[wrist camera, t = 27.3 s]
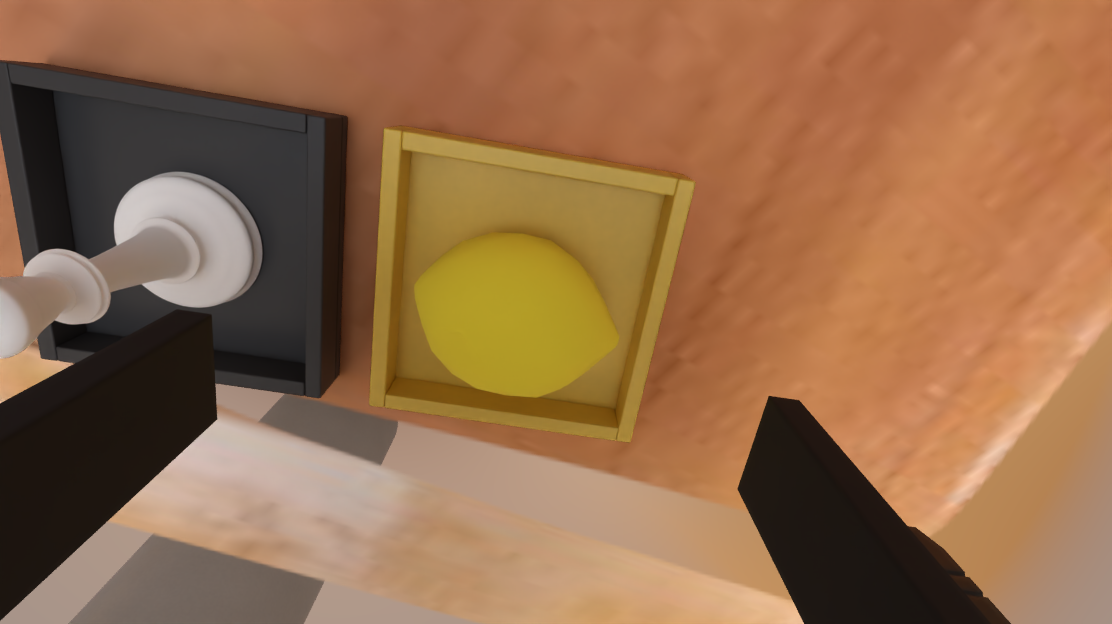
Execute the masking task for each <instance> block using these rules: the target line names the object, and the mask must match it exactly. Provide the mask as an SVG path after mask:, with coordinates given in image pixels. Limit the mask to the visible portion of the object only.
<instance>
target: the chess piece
mask: <svg viewBox="0 0 1112 624" xmlns="http://www.w3.org/2000/svg"><path fill="white" fill-rule="evenodd" d="M114 235H115V241H116V245H117V246H115V247H113V248H111V249H109V250H107V251H105V252H103V253H101V254H99V255H97V256H95V257H93V258H90V259H87V258H86V257H84V256H82V255H80V254H78V253H76V252H73V251H70V250H65V249H50V250H46V251H43V252H41V253H39V254H38V255H37V256H35V257H34V258H33V259H31V260H30V261H29V262H28V264H27V265H26V267H25V269H24V273H23V276H16V277H0V359H1V358H8V357H12V356H14V355H17V354H18V353H20V352H22V351H23V350H25V349H26V348H27V347H28V346H29V345H30V344H31V343H32V342H33V341H35V340H36V338H37V337H38V336H39V334H40V333H41V332H42V331H43V330H44V329H45V328H46V327H47V326H48V325H49V324H51V323H52V322H53V321H54V320H55V321H58V322H61V323H65V324H85V323H91V322H94V321H96V320H98V319H100V318H101V317H102V316H103V315H104V314H105V313H106V311H107V310H108V308H109V305H110V300H111V294H110V292H113V291H117V290H120V289H124V288H128V287H132V286H136V285H140V284H142V285H143V286H144V287H145V288H147V289H148V290H149V291H151V292H152V293H154V294H155V295H157V296H159V297H161V298H162V299H165V300H167V301H169V302H172V303H175V304H178V305H182V306H187V307H197V308H201V307H211V306H215V305H219V304H221V303H224V302H228V301H231V300H233V299H235V298H237V297H239V296H240V295H242V294H243V293H245V292H246V291H247V290H248V289H249V288H250V287H251V286H252V284H253V283H254V281H255V280H256V278H257V276H258V274H259V271H260V268H261V264H262V255H263V251H262V242H261V237H260V233H259V230H258V228H257V225H256V223H255V221H254V219H253V217H252V216H251V214H250V212H249V211H248V210H247V208H246V207H245V206H244V204H243V203H242V202H241V201H240V200H239V199H238V198H237V197H236V196H235V195H234V194H233V193H232V192H230V191H229V190H228V189H226V188H225V187H224V186H222V185H220V184H219V183H217V182H215V181H213V180H211V179H209V178H206V177H204V176H201V175H197V174H193V173H188V172H168V173H163V174H159V175H156V176H154V177H151V178H149V179H147V180H144V181H142V182H140V183H138V184H137V185H135V186H134V187H132V188H131V189H130V190H129V191H128V192H127V193H126V194H125V195H124V197H123V198H122V200H121V201H120V203H119V205H118V208H117V211H116V214H115V219H114Z"/></svg>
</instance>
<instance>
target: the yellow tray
mask: <svg viewBox="0 0 1112 624" xmlns="http://www.w3.org/2000/svg"><path fill="white" fill-rule="evenodd" d="M695 184H696V182H695V181H694V180H692V179H690V178H688V177H686V176H685V175H683V174H679V173H673V172H667V171H661V170H656V169H650V168H644V167H638V166H632V165H627V164H621V163H615V162H609V161H604V160H598V159H592V158H586V157H580V156H575V155H569V154H563V153H557V152H552V151H546V150H540V149H534V148H528V147H523V146H517V145H511V144H505V143H500V142H494V141H488V140H482V139H476V138H471V137H465V136H459V135H453V134H448V133H442V132H436V131H430V130H424V129H419V128H413V127H407V126H394V127H387V128H384V131H383V150H382V169H381V187H380V206H379V225H378V244H377V263H376V282H375V300H374V319H373V338H372V357H371V376H370V395H369V405H370V406H377V407H384V406H385V408H390V409H397V410H404V411H411V412H418V413H425V414H431V415H438V416H445V417H452V418H459V419H466V420H473V421H480V422H487V423H494V424H501V425H508V426H515V427H522V428H529V429H536V430H543V431H550V432H557V433H564V434H571V435H578V436H585V437H592V438H599V439H606V440H613V441H615V440H616V441H621V442H628V443H630V442H631V438H632V434H633V430H634V426H635V422H636V419H637V415H638V411H639V407H640V403H641V399H642V395H643V391H644V387H645V383H646V379H647V375H648V371H649V367H650V363H651V359H652V355H653V351H654V347H655V343H656V339H657V335H658V331H659V327H660V323H661V319H662V315H663V311H664V307H665V303H666V299H667V295H668V291H669V287H670V283H671V280H672V276H673V272H674V268H675V264H676V260H677V256H678V252H679V248H680V244H681V240H682V236H683V232H684V228H685V224H686V220H687V216H688V212H689V208H690V204H691V200H692V196H693V192H694V188H695ZM492 232H497V233H523V234H527V235H531V236H535V237H539V238H543V239H547V240H551V241H553V242H554V243H555V244H557V245H558V246H559V247H561V248H562V249H563V250H565V251H566V252H567V253H569V254H570V255H571V256H572V257H574V258H575V259H576V260H578V262H579V263H580V264H581V265H582V266H583V268H584V269H585V270H586V271H587V273H588V274H589V275H590V276H591V277H592V279H593V280H594V282H595V284H596V286H597V288H598V290H599V292H600V294H601V296H602V298H603V300H604V302H605V304H606V306H607V308H608V311H609V313H610V315H611V318H612V320H613V322H614V325H615V327H616V329H617V332H618V334H619V341H618V344H617V346H616V347H615V348H614V349H613V350H612V351H610V352H609V353H608V354H607V355H606V356H605V357H603V358H602V359H601V360H600V361H599V362H597V363H596V364H595V365H594V366H593V367H591V368H590V369H589V370H588V371H587V372H585V373H584V374H583V375H581V376H580V377H578V378H577V379H575V380H574V381H573V382H571V383H570V384H568V385H567V386H564V387H563V388H561V389H560V390H557V391H554V392H551V393H548V394H545V395H543V396H540V397H537V398H533V397H520V396H507V395H502V394H497V393H493V392H489V391H484V390H480V389H476V388H475V387H473V386H471V385H470V384H468V383H466V382H465V381H463V380H461V379H460V378H458V377H456V376H455V375H453V374H452V373H451V372H450V371H449V370H448V369H447V368H446V367H445V366H444V364H443V363H442V362H441V361H440V360H439V359H438V358H437V356H436V355H435V354H434V353H433V352H432V351H431V348H430V346H429V343H428V340H427V337H426V335H425V332H424V329H423V327H422V324H421V320H420V316H419V312H418V309H417V305H416V301H415V294H414V285H415V283H416V282H417V280H418V279H419V278H420V276H421V275H422V274H423V273H424V272H425V271H426V270H427V269H428V268H429V267H430V266H431V265H432V264H433V263H434V262H436V261H437V260H438V259H439V258H440V257H441V256H442V255H443V254H445V253H446V252H448V251H449V250H451V249H452V248H453V247H455V246H456V245H458V244H459V243H461V242H462V241H464V240H468V239H471V238H475V237H478V236H482V235H485V234H489V233H492Z"/></svg>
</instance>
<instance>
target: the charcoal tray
mask: <svg viewBox="0 0 1112 624" xmlns="http://www.w3.org/2000/svg"><path fill="white" fill-rule="evenodd" d="M0 134H1V140H2V145H3V151H4V156H5V162H6V167H7V173H8V178H9V184H10V190H11V195H12V201H13V206H14V212H15V217H16V223H17V228H18V234H19V239H20V245H21V250H22V256H23V261H24V267H26V265H27V264H28V262H29V261H30V260H31V259H33V258H34V257H35V256H37V255H38V254H39V253H41V252H43V251H46V250H50V249H65V250H70V251H73V252H76V253H78V254H80V255H82V256H84V257H86V258H87V259H90V258H93V257H95V256H97V255H99V254H101V253H103V252H105V251H107V250H109V249H111V248H113V247H115V246H117V245H116V241H115V235H114V219H115V214H116V211H117V208H118V205H119V203H120V201H121V200H122V198H123V197H124V195H125V194H126V193H127V192H128V191H129V190H130V189H131V188H132V187H134V186H135V185H137V184H138V183H140V182H142V181H144V180H147V179H149V178H151V177H154V176H156V175H159V174H163V173H168V172H188V173H193V174H197V175H201V176H204V177H206V178H209V179H211V180H213V181H215V182H217V183H219V184H220V185H222V186H224V187H225V188H226V189H228V190H229V191H230V192H232V193H233V194H234V195H235V196H236V197H237V198H238V199H239V200H240V201H241V202H242V203H243V204H244V206H245V207H246V208H247V210H248V211H249V212H250V214H251V216H252V217H253V219H254V221H255V223H256V225H257V228H258V230H259V233H260V237H261V242H262V251H263V255H262V264H261V268H260V271H259V274H258V276H257V278H256V280H255V281H254V283H253V284H252V286H251V287H250V288H249V289H248V290H247V291H246V292H245V293H243V294H242V295H240V296H239V297H237V298H235V299H233V300H231V301H228V302H224V303H221V304H219V305H215V306H211V307H201V308H197V307H187V306H182V305H178V304H175V303H172V302H169V301H167V300H165V299H162V298H161V297H159V296H157V295H155V294H154V293H152V292H151V291H149V290H148V289H147V288H145V287H144V286H143V285H142V284H140V285H136V286H132V287H128V288H124V289H120V290H117V291H113V292H110V294H111V300H110V305H109V308H108V310H107V311H106V313H105V314H104V315H103V316H102V317H101V318H100V319H98V320H96V321H94V322H91V323H85V324H65V323H61V322H58V321H55V320H54V321H53V322H52V323H51V324H49V325H48V326H47V327H46V328H45V329H44V330H43V331H42V332H41V333H40V334H39V336H38V337H37V339H38V344H39V350H40V355H41V358H42V359H48V360H55V361H57V360H59V361H63V362H70V363H77V362H79V361H81V360H83V359H84V358H86V357H88V356H90V355H92V354H94V353H96V352H98V351H99V350H101V349H103V348H105V347H107V346H109V345H111V344H113V343H114V342H116V341H118V340H120V339H122V338H124V337H126V336H128V335H129V334H131V333H133V332H135V331H137V330H139V329H141V328H143V327H144V326H146V325H148V324H150V323H152V322H154V321H156V320H158V319H159V318H161V317H163V316H165V315H167V314H169V313H171V312H173V311H174V310H176V309H179V310H185V311H192V312H199V313H206V314H212V328H213V348H214V368H215V383H217V384H224V385H231V386H238V387H245V388H252V389H259V390H265V391H272V392H279V393H286V394H293V395H300V396H304V395H305V396H307V397H314V398H321V397H322V395H323V394H324V393H325V392H326V390H327V389H328V388H329V387H330V385H331V384H332V383H333V382H334V380H335V379H336V378H337V377H338V376H339V372H340V340H341V307H342V275H343V242H344V210H345V177H346V145H347V116H344V115H338V114H332V113H326V112H320V111H315V110H309V109H303V108H297V107H292V106H286V105H280V104H274V103H268V102H263V101H257V100H251V99H245V98H240V97H234V96H228V95H222V94H216V93H211V92H205V91H199V90H193V89H188V88H182V87H176V86H170V85H164V84H159V83H153V82H147V81H141V80H136V79H130V78H124V77H118V76H112V75H107V74H101V73H95V72H89V71H84V70H78V69H72V68H66V67H60V66H55V65H49V64H43V63H30V62H18V61H5V60H0Z"/></svg>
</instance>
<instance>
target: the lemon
mask: <svg viewBox="0 0 1112 624" xmlns="http://www.w3.org/2000/svg"><path fill="white" fill-rule="evenodd" d="M414 294H415V301H416V305H417V309H418V312H419V316H420V320H421V324H422V327H423V329H424V332H425V335H426V337H427V340H428V343H429V346H430V348H431V351H432V352H433V353H434V354H435V355H436V356H437V358H438V359H439V360H440V361H441V362H442V363H443V364H444V366H445V367H446V368H447V369H448V370H449V371H450V372H451V373H452V374H453V375H455V376H456V377H458V378H460V379H461V380H463V381H465V382H466V383H468V384H470V385H471V386H473V387H475V388H476V389H480V390H484V391H489V392H493V393H497V394H502V395H507V396H520V397H533V398H537V397H540V396H543V395H545V394H548V393H551V392H554V391H557V390H560V389H561V388H563V387H564V386H567V385H568V384H570V383H571V382H573V381H574V380H575V379H577V378H578V377H580V376H581V375H583V374H584V373H585V372H587V371H588V370H589V369H590V368H591V367H593V366H594V365H595V364H596V363H597V362H599V361H600V360H601V359H602V358H603V357H605V356H606V355H607V354H608V353H609V352H610V351H612V350H613V349H614V348H615V347H616V346H617V344H618V341H619V334H618V332H617V329H616V327H615V325H614V322H613V320H612V318H611V315H610V313H609V311H608V308H607V306H606V304H605V302H604V300H603V298H602V296H601V294H600V292H599V290H598V288H597V286H596V284H595V282H594V280H593V279H592V277H591V276H590V275H589V274H588V273H587V271H586V270H585V269H584V268H583V266H582V265H581V264H580V263H579V262H578V260H576V259H575V258H574V257H572V256H571V255H570V254H569V253H567V252H566V251H565V250H563V249H562V248H561V247H559V246H558V245H557V244H555V243H554V242H553V241H551V240H547V239H543V238H539V237H535V236H531V235H527V234H523V233H497V232H492V233H489V234H485V235H482V236H478V237H475V238H471V239H468V240H464V241H462V242H461V243H459V244H458V245H456V246H455V247H453V248H452V249H451V250H449V251H448V252H446V253H445V254H443V255H442V256H441V257H440V258H439V259H438V260H437V261H436V262H434V263H433V264H432V265H431V266H430V267H429V268H428V269H427V270H426V271H425V272H424V273H423V274H422V275H421V276H420V278H419V279H418V280H417V282H416V283H415V285H414Z"/></svg>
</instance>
